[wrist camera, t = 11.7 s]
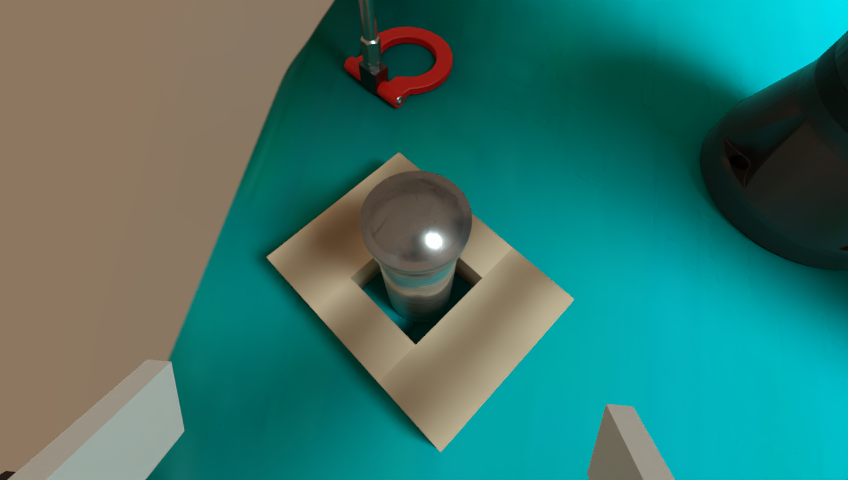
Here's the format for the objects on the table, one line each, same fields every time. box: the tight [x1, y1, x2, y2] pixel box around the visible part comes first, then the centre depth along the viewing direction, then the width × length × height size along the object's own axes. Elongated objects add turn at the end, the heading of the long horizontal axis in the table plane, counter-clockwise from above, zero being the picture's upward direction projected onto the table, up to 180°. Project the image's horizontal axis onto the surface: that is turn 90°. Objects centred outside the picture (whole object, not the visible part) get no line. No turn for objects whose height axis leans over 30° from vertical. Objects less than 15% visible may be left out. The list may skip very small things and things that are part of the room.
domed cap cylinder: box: [360, 171, 472, 322], centre depth 23 cm, size 5×5×11 cm
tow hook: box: [344, 0, 453, 108], centre depth 32 cm, size 8×13×9 cm
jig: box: [266, 153, 574, 452], centre depth 27 cm, size 16×12×3 cm
